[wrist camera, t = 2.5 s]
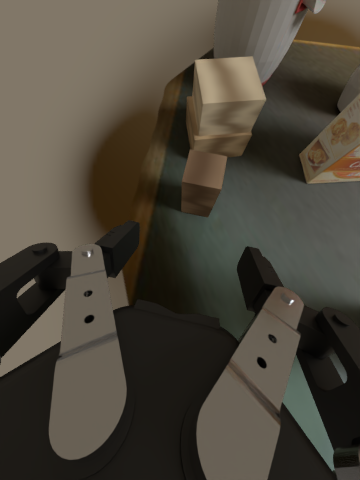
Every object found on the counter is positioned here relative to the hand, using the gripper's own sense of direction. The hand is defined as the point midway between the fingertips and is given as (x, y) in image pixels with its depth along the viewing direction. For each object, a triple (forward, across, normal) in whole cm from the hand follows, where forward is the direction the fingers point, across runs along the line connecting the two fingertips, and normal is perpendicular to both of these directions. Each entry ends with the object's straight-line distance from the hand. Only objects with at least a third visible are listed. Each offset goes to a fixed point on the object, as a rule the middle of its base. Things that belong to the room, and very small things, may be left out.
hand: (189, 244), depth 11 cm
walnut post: (+18, 0, +2) cm, 18 cm away
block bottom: (+29, 0, -8) cm, 30 cm away
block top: (+26, -1, -12) cm, 29 cm away
